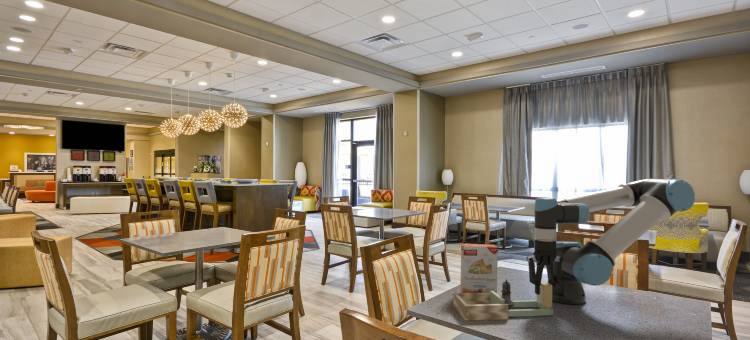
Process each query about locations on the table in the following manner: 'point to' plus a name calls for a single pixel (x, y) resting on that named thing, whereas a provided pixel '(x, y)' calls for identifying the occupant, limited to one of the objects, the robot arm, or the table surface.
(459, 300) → the frame
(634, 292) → the table surface
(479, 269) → the cracker box
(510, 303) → the chess piece
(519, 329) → the table surface
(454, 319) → the table surface
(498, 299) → the tray
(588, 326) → the table surface
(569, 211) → the robot arm
